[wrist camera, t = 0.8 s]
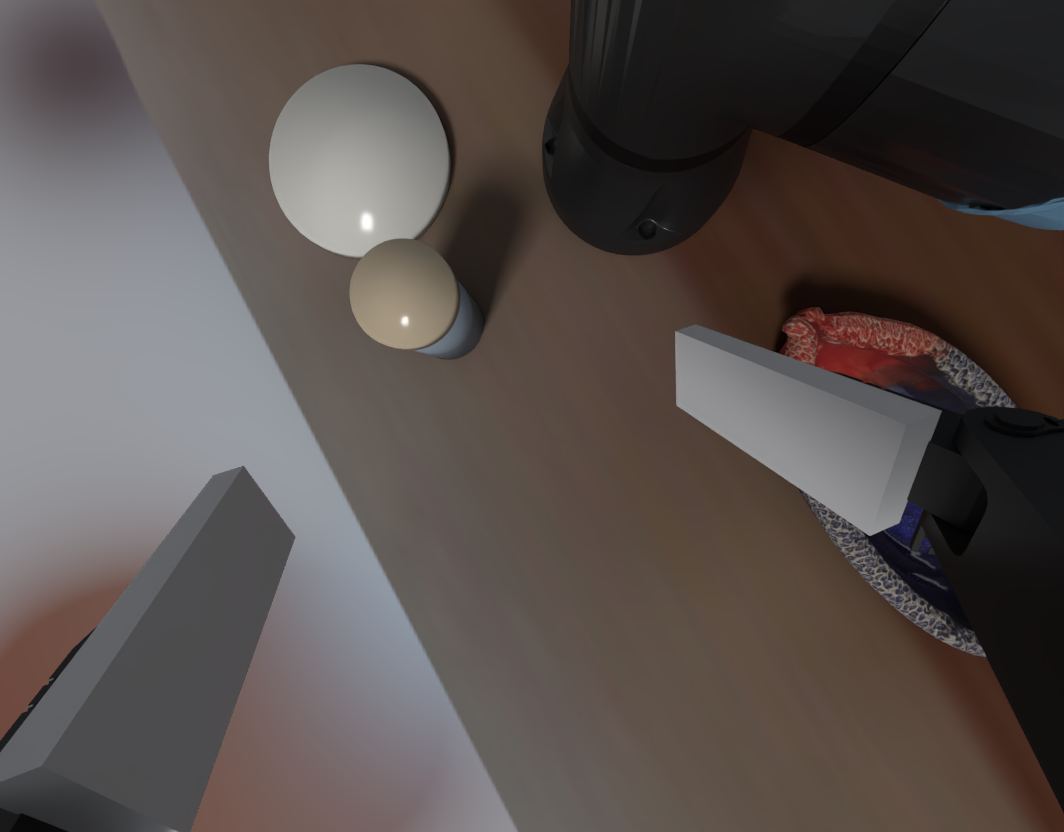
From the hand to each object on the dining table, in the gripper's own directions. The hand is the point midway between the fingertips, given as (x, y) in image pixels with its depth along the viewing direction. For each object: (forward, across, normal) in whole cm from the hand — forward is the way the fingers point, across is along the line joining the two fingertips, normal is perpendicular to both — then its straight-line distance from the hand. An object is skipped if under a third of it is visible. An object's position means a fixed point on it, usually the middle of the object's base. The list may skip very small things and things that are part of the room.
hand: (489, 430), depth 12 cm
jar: (+23, 0, -2) cm, 23 cm away
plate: (+30, -2, +11) cm, 32 cm away
